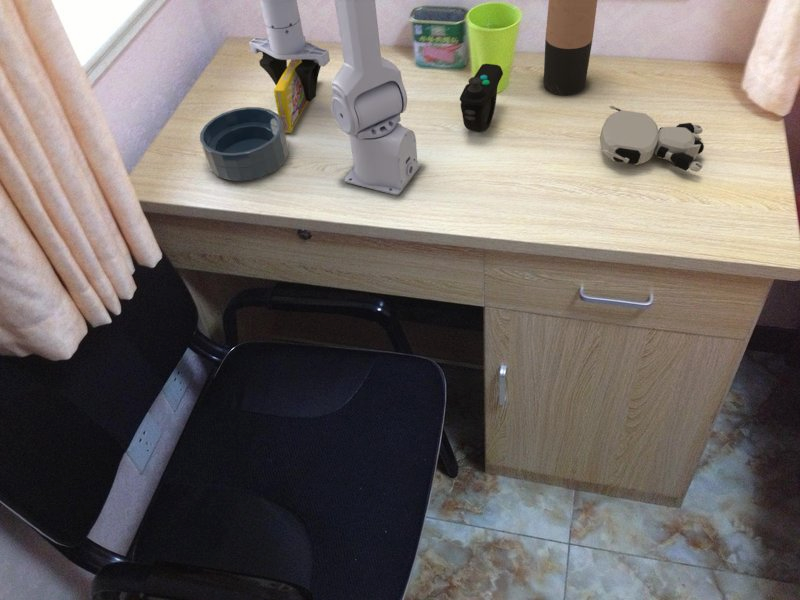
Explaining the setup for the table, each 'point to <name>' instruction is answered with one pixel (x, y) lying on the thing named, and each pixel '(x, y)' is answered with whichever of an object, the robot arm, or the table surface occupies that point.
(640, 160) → the robot toy
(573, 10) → the travel mug
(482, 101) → the controller
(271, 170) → the bowl
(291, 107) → the candy box
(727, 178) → the table surface
